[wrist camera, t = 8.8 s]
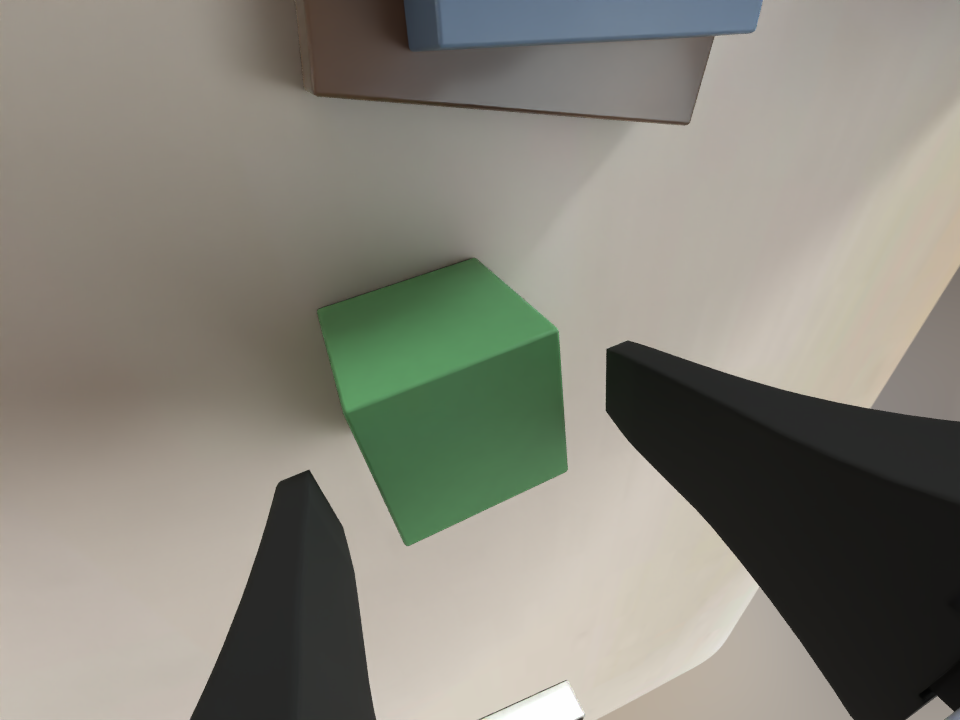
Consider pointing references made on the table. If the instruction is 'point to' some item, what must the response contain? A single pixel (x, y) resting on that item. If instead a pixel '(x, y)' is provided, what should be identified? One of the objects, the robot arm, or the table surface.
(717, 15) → the middle block
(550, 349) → the green cube
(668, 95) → the base slab
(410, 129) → the table surface
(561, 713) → the multiport hub
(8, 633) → the table surface
